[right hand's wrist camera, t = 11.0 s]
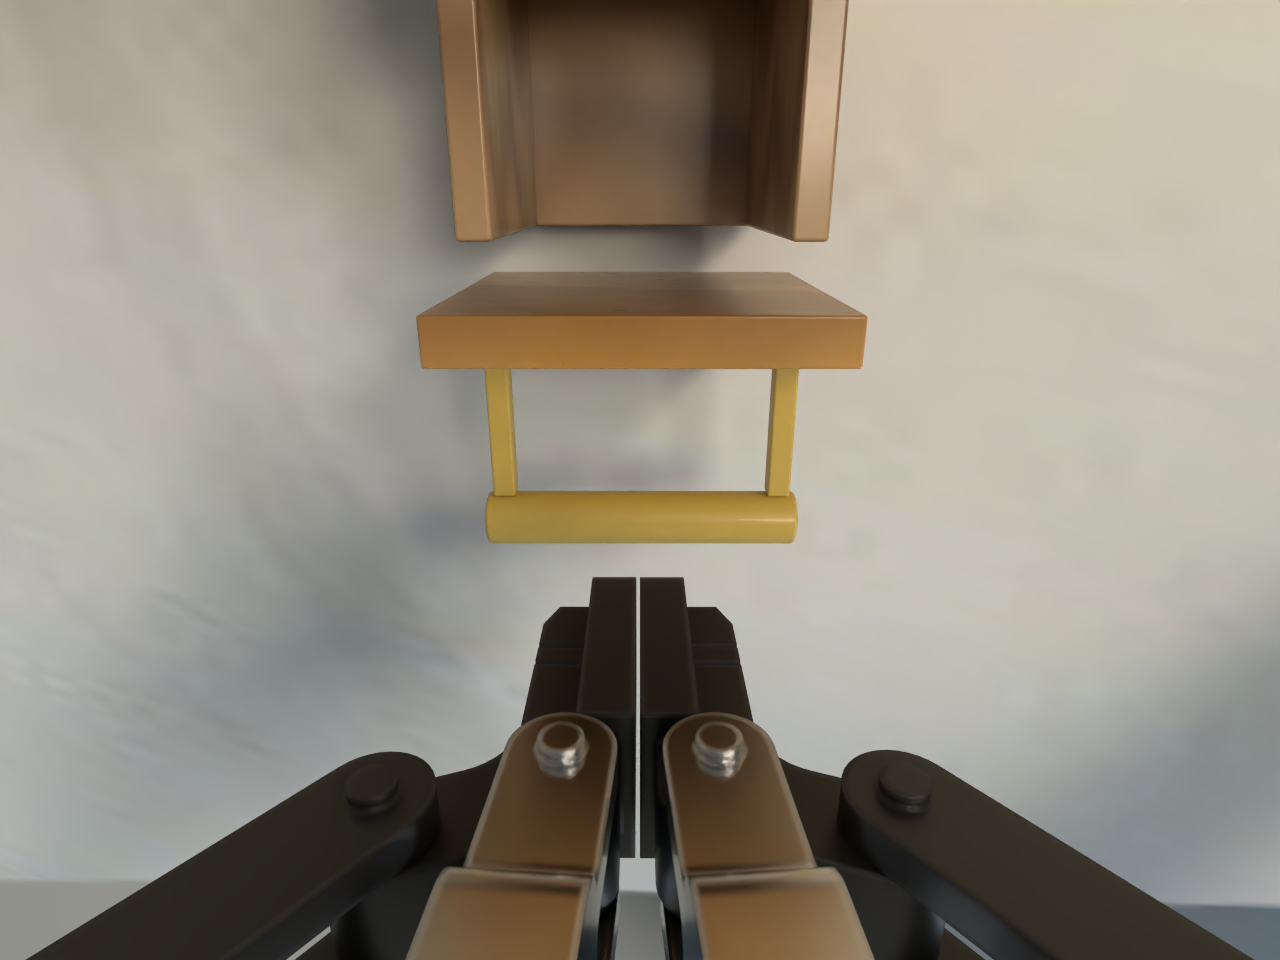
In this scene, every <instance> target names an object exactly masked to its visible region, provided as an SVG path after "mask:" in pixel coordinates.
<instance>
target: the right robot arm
mask: <svg viewBox="0 0 1280 960" xmlns="http://www.w3.org/2000/svg"><path fill="white" fill-rule="evenodd" d="M635 805H636V577H593V579H592V587H591V595H590V603H589V607H560V608H559V609H558V610H557V611H556V612H555V613H554V614H553V615H552V616H551V617H550V618H549V619H548V620H547V621H546V622H545V623H544V625H543V629H542V634H541V638H540V643H539V648H538V652H537V656H536V664H535V665H534V670H533V674H532V679H531V683H530V688H529V692H528V697H527V701H526V706H525V710H524V715H523V719H522V724H521V727H519V728H518V729H517V730H516V731H515V732H514V733H513V734H512V735H511V737H510V738H509V740H508V742H507V744H506V746H505V749H504V751H503V752H502V753H501V754H499V755H498V756H497V757H495V758H494V759H492V760H490V761H488V762H486V763H484V764H482V765H479V766H477V767H474V768H471V769H467V770H464V771H460V772H455V773H451V774H447V775H443V776H439V777H435V775H434V772H433V770H432V769H431V767H430V766H429V764H427V763H426V762H425V761H424V760H422V759H421V758H419V757H417V756H414V755H411V754H408V753H402V752H380V753H374V754H369V755H366V756H363V757H359V758H357V759H354V760H352V761H350V762H347V763H346V764H344V765H342V766H340V767H338V768H337V769H335V770H334V771H332V772H330V773H329V774H327V775H325V776H324V777H322V778H321V779H319V780H317V781H316V782H314V783H312V784H311V785H309V786H308V787H306V788H304V789H303V790H301V791H299V792H298V793H296V794H295V795H293V796H291V797H290V798H288V799H286V800H285V801H283V802H281V803H280V804H278V805H277V806H275V807H273V808H272V809H270V810H268V811H267V812H265V813H264V814H262V815H260V816H259V817H257V818H255V819H254V820H252V821H251V822H249V823H247V824H246V825H244V826H242V827H241V828H239V829H238V830H236V831H234V832H233V833H231V834H229V835H228V836H226V837H225V838H223V839H221V840H220V841H218V842H216V843H215V844H213V845H212V846H210V847H208V848H207V849H205V850H203V851H202V852H200V853H199V854H197V855H195V856H194V857H192V858H190V859H189V860H187V861H186V862H184V863H182V864H181V865H179V866H177V867H176V868H174V869H173V870H171V871H169V872H168V873H166V874H164V875H163V876H161V877H160V878H158V879H156V880H155V881H153V882H151V883H150V884H148V885H147V886H145V887H143V888H142V889H140V890H138V891H137V892H135V893H134V894H132V895H130V896H129V897H127V898H125V899H124V900H122V901H121V902H119V903H117V904H116V905H114V906H112V907H111V908H109V909H108V910H106V911H104V912H103V913H101V914H99V915H98V916H96V917H95V918H93V919H91V920H90V921H88V922H87V923H85V924H83V925H82V926H80V927H78V928H77V929H75V930H73V931H72V932H70V933H69V934H67V935H65V936H64V937H62V938H60V939H59V940H57V941H56V942H54V943H52V944H51V945H49V946H47V947H46V948H44V949H43V950H41V951H39V952H38V953H36V954H34V955H33V956H31V957H29V958H28V959H26V960H286V959H287V958H289V957H290V956H291V955H293V954H294V953H295V952H296V951H298V950H299V949H300V948H302V947H303V946H304V945H305V944H307V943H308V942H309V941H311V940H312V939H313V938H314V937H316V936H317V935H318V934H320V933H321V932H322V931H323V930H325V929H326V928H327V927H329V926H330V929H331V932H330V933H328V934H327V935H326V936H325V937H323V938H322V939H321V940H320V941H318V942H317V943H316V944H314V945H313V946H312V947H311V948H309V949H308V950H307V951H306V952H304V953H303V954H302V955H300V956H299V957H298V958H297V959H295V960H614V959H615V949H616V941H617V932H618V923H619V868H620V858H635ZM640 858H655V871H656V888H657V892H658V895H659V897H660V899H661V923H662V932H663V941H664V950H665V959H666V960H985V959H983V958H982V957H981V956H980V955H978V954H977V953H976V952H974V951H973V950H972V949H971V948H969V947H968V946H967V945H966V944H964V943H963V942H962V941H960V940H959V939H958V938H957V937H955V936H954V935H953V934H952V933H950V932H949V931H948V930H946V929H945V928H944V926H945V922H946V923H947V924H949V925H950V926H951V927H953V928H954V929H955V930H956V931H958V932H959V933H960V934H962V935H963V936H964V937H966V938H967V939H968V940H969V941H971V942H972V943H973V944H975V945H976V946H977V947H978V948H980V949H981V950H982V951H984V952H985V953H986V954H987V955H989V956H990V957H991V958H993V959H994V960H1254V959H1252V958H1250V957H1249V956H1247V955H1246V954H1244V953H1242V952H1241V951H1239V950H1237V949H1236V948H1234V947H1233V946H1231V945H1229V944H1228V943H1226V942H1224V941H1223V940H1221V939H1220V938H1218V937H1216V936H1215V935H1213V934H1211V933H1210V932H1208V931H1207V930H1205V929H1203V928H1202V927H1200V926H1198V925H1197V924H1195V923H1194V922H1192V921H1190V920H1189V919H1187V918H1185V917H1184V916H1182V915H1181V914H1179V913H1177V912H1176V911H1174V910H1172V909H1171V908H1169V907H1168V906H1166V905H1164V904H1163V903H1161V902H1159V901H1158V900H1156V899H1155V898H1153V897H1151V896H1150V895H1148V894H1146V893H1145V892H1143V891H1142V890H1140V889H1138V888H1137V887H1135V886H1133V885H1132V884H1130V883H1129V882H1127V881H1125V880H1124V879H1122V878H1120V877H1119V876H1117V875H1116V874H1114V873H1112V872H1111V871H1109V870H1107V869H1106V868H1104V867H1103V866H1101V865H1099V864H1098V863H1096V862H1094V861H1093V860H1091V859H1090V858H1088V857H1086V856H1085V855H1083V854H1081V853H1080V852H1078V851H1077V850H1075V849H1073V848H1072V847H1070V846H1068V845H1067V844H1065V843H1064V842H1062V841H1060V840H1059V839H1057V838H1055V837H1054V836H1052V835H1051V834H1049V833H1047V832H1046V831H1044V830H1042V829H1041V828H1039V827H1038V826H1036V825H1034V824H1033V823H1031V822H1029V821H1028V820H1026V819H1024V818H1023V817H1021V816H1020V815H1018V814H1016V813H1015V812H1013V811H1011V810H1010V809H1008V808H1007V807H1005V806H1003V805H1002V804H1000V803H998V802H997V801H995V800H994V799H992V798H990V797H989V796H987V795H985V794H984V793H982V792H981V791H979V790H977V789H976V788H974V787H972V786H971V785H969V784H968V783H966V782H964V781H963V780H961V779H959V778H958V777H956V776H955V775H953V774H951V773H950V772H948V771H946V770H945V769H943V768H942V767H940V766H938V765H937V764H935V763H933V762H931V761H929V760H927V759H925V758H922V757H920V756H917V755H914V754H910V753H907V752H901V751H894V750H877V751H871V752H867V753H864V754H861V755H859V756H857V757H855V758H854V759H853V760H851V761H850V762H849V763H848V764H847V766H846V767H845V769H844V771H843V774H842V778H839V777H835V776H830V775H826V774H822V773H818V772H814V771H810V770H807V769H803V768H800V767H797V766H795V765H793V764H790V763H788V762H786V761H784V760H783V759H781V758H779V757H778V754H777V752H776V749H775V746H774V744H773V742H772V740H771V738H770V737H769V735H768V734H767V733H766V732H765V731H764V730H763V729H762V728H761V727H759V726H758V725H756V724H755V723H754V722H753V719H752V714H751V709H750V704H749V700H748V695H747V690H746V686H745V681H744V676H743V672H742V667H741V665H740V658H739V653H738V648H737V644H736V639H735V634H734V630H733V625H732V623H731V622H730V621H729V620H728V619H727V618H726V617H725V616H724V615H723V614H722V613H721V612H720V611H719V610H718V609H717V608H716V607H687V604H686V595H685V586H684V578H683V577H640Z"/></svg>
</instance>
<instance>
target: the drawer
mask: <svg viewBox="0 0 1280 960" xmlns="http://www.w3.org/2000/svg"><path fill="white" fill-rule="evenodd" d="M848 3H849V0H436V7H437V19H438V31H439V43H440V55H441V68H442V80H443V92H444V104H445V116H446V128H447V140H448V153H449V165H450V177H451V189H452V201H453V213H454V225H455V237H456V239H457V240H458V241H491V240H494V239H497V238H500V237H503V236H506V235H509V234H512V233H515V232H518V231H521V230H524V229H527V228H530V227H533V226H750V227H753V228H756V229H759V230H762V231H765V232H768V233H771V234H774V235H777V236H780V237H783V238H786V239H789V240H792V241H795V242H825V241H827V240H828V238H829V226H830V214H831V202H832V191H833V179H834V167H835V155H836V144H837V132H838V120H839V108H840V97H841V85H842V73H843V61H844V50H845V38H846V26H847V14H848ZM416 319H417V329H418V338H419V348H420V358H421V366H422V368H424V369H485V382H486V396H487V409H488V423H489V436H490V450H491V463H492V477H493V490H494V491H492V492H490V494H489V496H488V499H487V503H486V514H485V523H486V533H487V537H488V540H489V542H491V543H792V542H793V541H794V539H795V536H796V532H797V504H796V499H795V496H794V494H793V493H792V492H790V478H791V464H792V451H793V438H794V425H795V412H796V399H797V386H798V373H799V369H860V368H862V364H863V355H864V345H865V336H866V327H867V316H866V315H864V314H862V313H860V312H859V311H857V310H855V309H853V308H851V307H850V306H848V305H846V304H844V303H842V302H841V301H839V300H837V299H835V298H833V297H832V296H830V295H828V294H826V293H824V292H823V291H821V290H819V289H817V288H815V287H814V286H812V285H810V284H808V283H806V282H805V281H803V280H801V279H799V278H797V277H796V276H794V275H792V274H790V273H788V272H494V273H492V274H490V275H489V276H487V277H485V278H483V279H481V280H480V281H478V282H476V283H474V284H473V285H471V286H469V287H467V288H466V289H464V290H462V291H460V292H458V293H457V294H455V295H453V296H451V297H450V298H448V299H446V300H444V301H442V302H441V303H439V304H437V305H435V306H434V307H432V308H430V309H428V310H426V311H425V312H423V313H421V314H419V315H418V316H417V317H416ZM511 369H772V380H771V396H770V412H769V427H768V443H767V459H766V474H765V490H766V491H517V489H518V478H517V462H516V445H515V429H514V413H513V396H512V380H511Z"/></svg>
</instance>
